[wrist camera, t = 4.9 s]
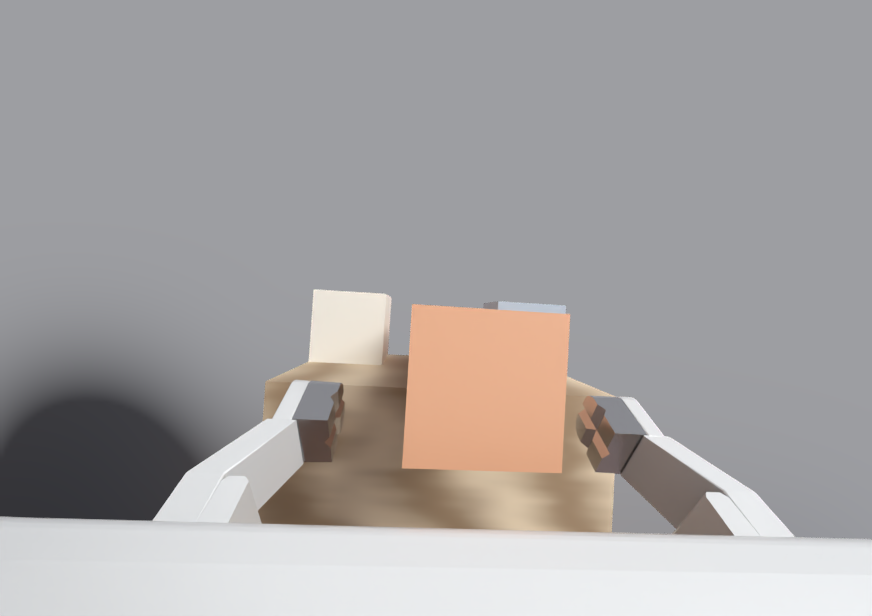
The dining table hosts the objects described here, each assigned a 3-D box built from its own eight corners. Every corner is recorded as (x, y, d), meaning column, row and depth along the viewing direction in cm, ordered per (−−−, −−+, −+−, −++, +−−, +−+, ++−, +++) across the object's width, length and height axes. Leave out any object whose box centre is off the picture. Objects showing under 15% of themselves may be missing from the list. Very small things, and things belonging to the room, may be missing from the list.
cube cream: (308, 361, 22) (313, 289, 23) (328, 352, 27) (331, 293, 28) (381, 365, 23) (386, 294, 23) (387, 355, 28) (391, 297, 28)
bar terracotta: (401, 468, 8) (411, 303, 8) (411, 355, 29) (414, 310, 29) (561, 473, 8) (569, 314, 8) (456, 358, 29) (458, 313, 29)
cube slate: (494, 371, 23) (498, 301, 23) (480, 360, 28) (483, 303, 28) (562, 374, 24) (565, 305, 24) (536, 363, 29) (539, 306, 29)
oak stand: (226, 930, 15) (265, 381, 16) (310, 654, 28) (331, 351, 28) (592, 909, 17) (618, 397, 17) (516, 653, 29) (532, 362, 30)
